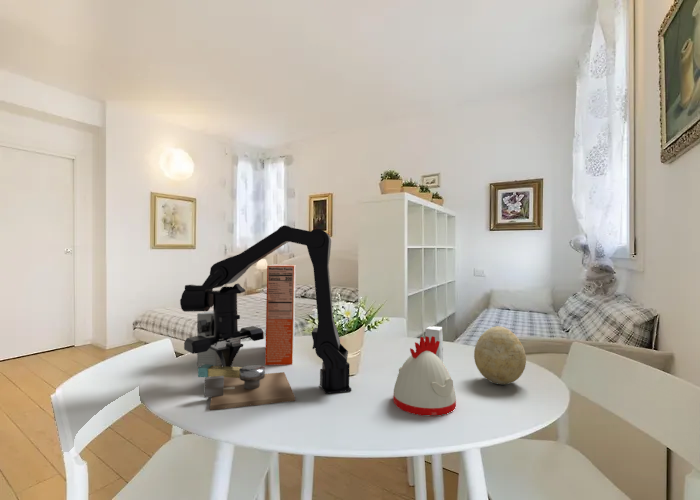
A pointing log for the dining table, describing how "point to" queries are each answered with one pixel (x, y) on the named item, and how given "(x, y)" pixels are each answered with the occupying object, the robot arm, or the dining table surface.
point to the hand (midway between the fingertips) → (226, 372)
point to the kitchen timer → (424, 382)
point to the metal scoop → (233, 372)
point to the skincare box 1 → (209, 355)
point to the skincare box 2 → (436, 338)
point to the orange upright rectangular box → (280, 314)
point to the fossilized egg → (500, 355)
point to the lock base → (247, 391)
